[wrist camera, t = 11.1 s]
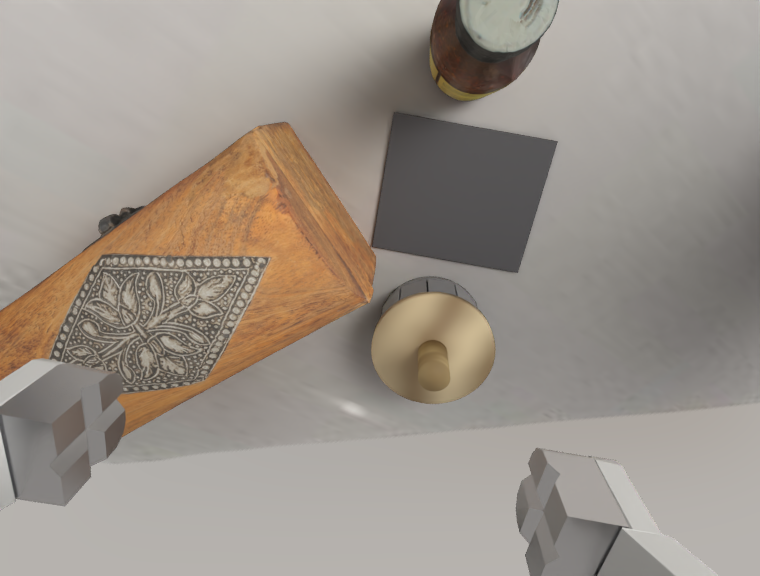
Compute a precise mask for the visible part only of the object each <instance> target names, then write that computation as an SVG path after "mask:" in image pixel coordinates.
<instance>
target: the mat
mask: <svg viewBox="0 0 760 576" xmlns="http://www.w3.org/2000/svg"><path fill="white" fill-rule="evenodd" d="M557 142H558V141H553V140H547V139H541V138H536V137H530V136H524V135H519V134H513V133H508V132H502V131H496V130H491V129H485V128H479V127H474V126H468V125H463V124H457V123H451V122H446V121H440V120H434V119H429V118H423V117H418V116H412V115H406V114H401V113H395V112H394V117H393V123H392V129H391V135H390V142H389V148H388V154H387V160H386V166H385V172H384V178H383V184H382V190H381V197H380V203H379V209H378V215H377V221H376V227H375V233H374V239H373V245H372V247H378V248H383V249H389V250H394V251H400V252H405V253H411V254H417V255H422V256H428V257H433V258H439V259H444V260H450V261H456V262H461V263H467V264H472V265H478V266H483V267H489V268H494V269H500V270H506V271H511V272H517V273H518V270H519V267H520V264H521V260H522V257H523V254H524V251H525V247H526V244H527V241H528V237H529V234H530V231H531V227H532V224H533V221H534V218H535V214H536V211H537V208H538V204H539V201H540V198H541V195H542V191H543V188H544V185H545V181H546V178H547V175H548V172H549V168H550V165H551V162H552V158H553V155H554V152H555V149H556V145H557Z"/></svg>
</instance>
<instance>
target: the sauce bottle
mask: <svg viewBox="0 0 760 576" xmlns="http://www.w3.org/2000/svg"><path fill="white" fill-rule="evenodd" d="M558 3H559V0H441V1H440V3H439V5H438V7H437V10H436V13H435V16H434V20H433V24H432V29H431V35H430V68H431V73H432V76H433V79H434V80H435V81H436V83H437V85H438V87H439V88H440V89H441V90H442V91H443V92H444V93H445V94H447V95H448V96H450V97H452V98H454V99H456V100H463V101H470V100H476V99H480V98H483V97H485V96H487V95H490V94H492V93H494V92H496V91H498V90H500V89H502V88H504V87H506V86H507V85H509V84H510V83H512V82H513V81H514V80H516V79H517V78H518V76H519V75H520V74H521V73H522V72H523V71H524V70H525V69H526V67H527V66H528V64H529V63H530V62H531V60H532V58H533V56H534V55H535V52H536V50H537V48H538V45H539V42H540V38H541V37H542V36H543V35H544V33H545V32H546V31H547V29H548V28H549V27H550V25H551V23H552V21H553V19H554V16H555V14H556V11H557V7H558Z"/></svg>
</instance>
